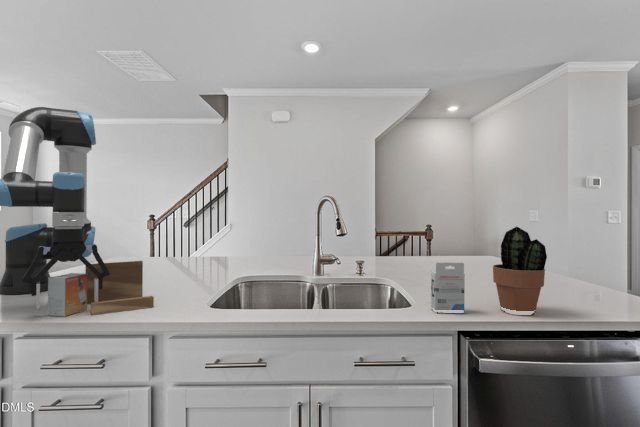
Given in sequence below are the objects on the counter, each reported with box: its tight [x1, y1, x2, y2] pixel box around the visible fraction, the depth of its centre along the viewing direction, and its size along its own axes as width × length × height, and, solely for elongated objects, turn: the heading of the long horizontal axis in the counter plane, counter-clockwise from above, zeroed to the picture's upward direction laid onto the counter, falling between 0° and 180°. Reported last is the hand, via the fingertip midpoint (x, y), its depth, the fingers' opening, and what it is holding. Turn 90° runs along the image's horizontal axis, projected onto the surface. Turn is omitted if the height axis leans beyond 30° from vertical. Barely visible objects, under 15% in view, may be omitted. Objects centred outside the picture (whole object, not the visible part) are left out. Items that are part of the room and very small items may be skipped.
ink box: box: [430, 261, 466, 311], centre depth 114 cm, size 8×5×15 cm, turn 90°
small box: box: [47, 272, 88, 317], centre depth 109 cm, size 8×6×10 cm
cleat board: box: [84, 260, 155, 316], centre depth 118 cm, size 17×16×12 cm
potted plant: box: [492, 226, 548, 311], centre depth 114 cm, size 14×14×25 cm
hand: (68, 304), depth 109 cm, fingers open, 13 cm apart
